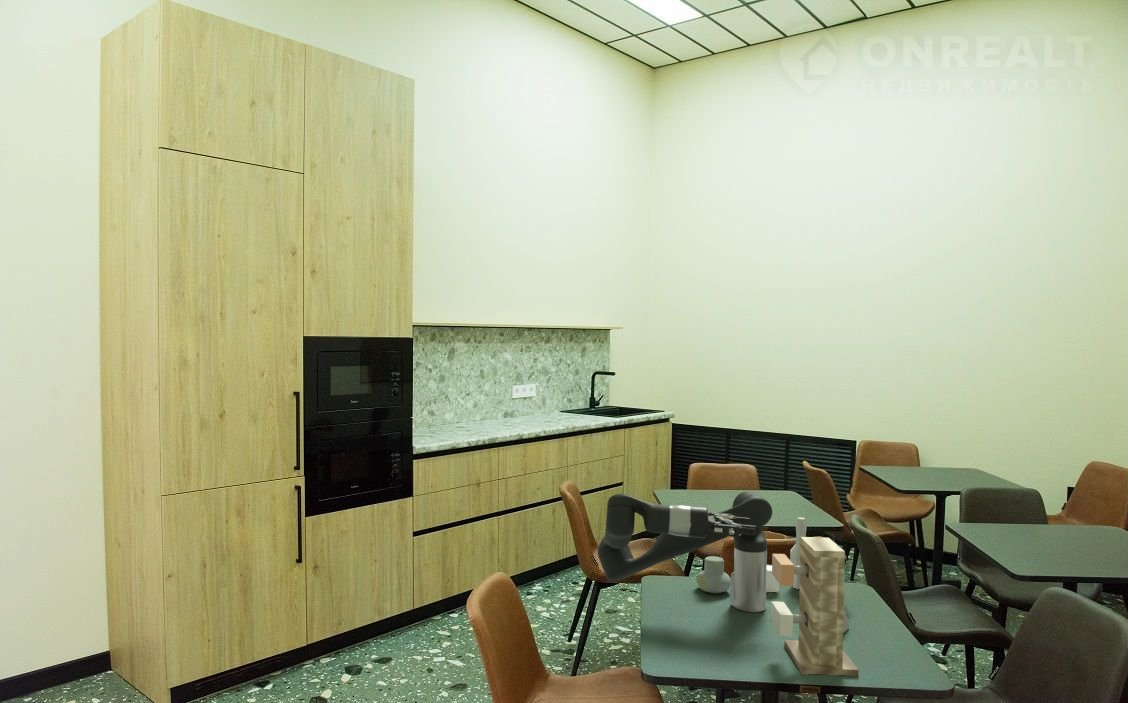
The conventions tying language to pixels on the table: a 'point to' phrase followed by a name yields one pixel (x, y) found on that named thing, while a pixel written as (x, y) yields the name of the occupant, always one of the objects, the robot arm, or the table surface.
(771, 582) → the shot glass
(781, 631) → the lower knob
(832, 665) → the knob post
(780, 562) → the orange block
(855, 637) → the table surface
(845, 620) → the electrical switch
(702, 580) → the air freshener
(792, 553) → the low poly bottle
